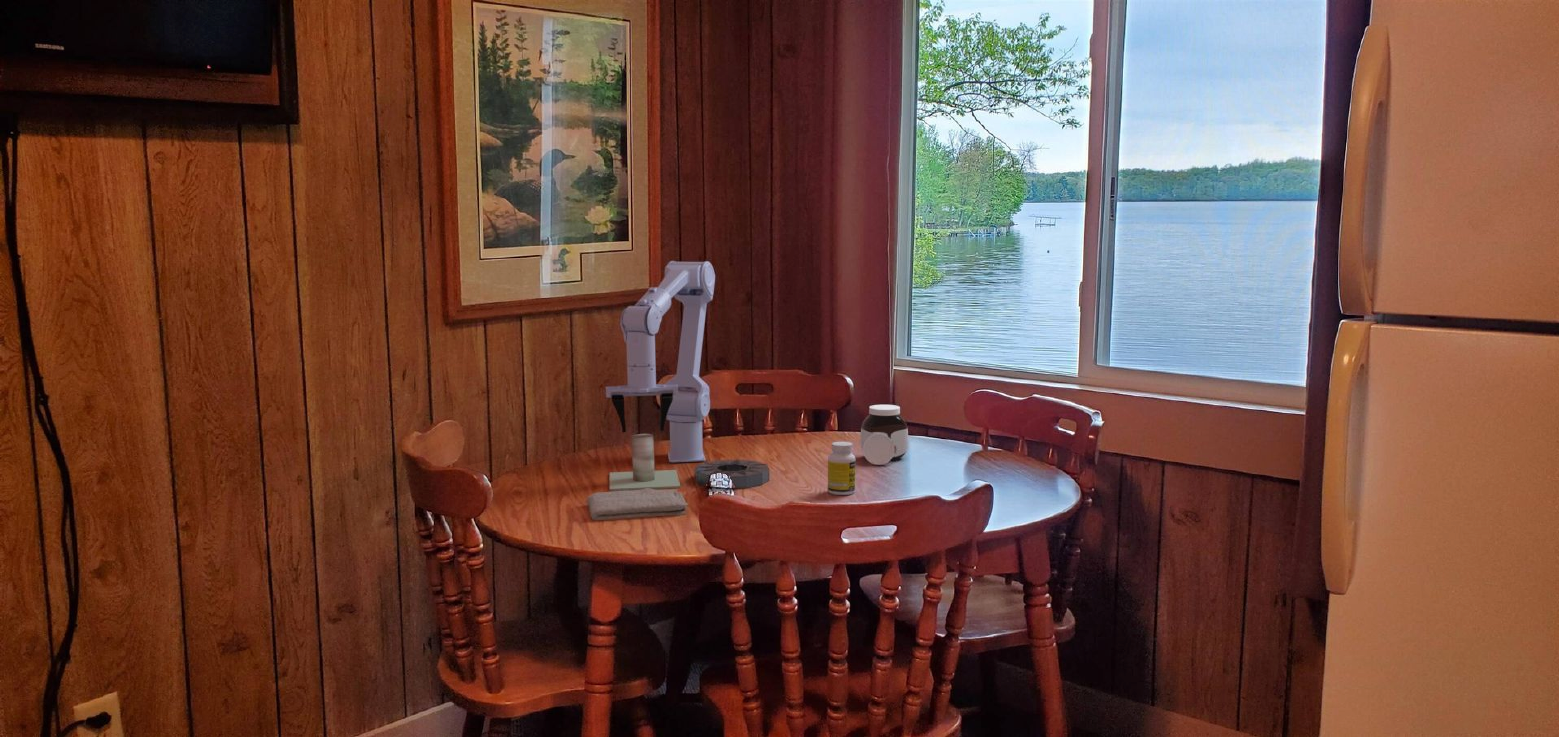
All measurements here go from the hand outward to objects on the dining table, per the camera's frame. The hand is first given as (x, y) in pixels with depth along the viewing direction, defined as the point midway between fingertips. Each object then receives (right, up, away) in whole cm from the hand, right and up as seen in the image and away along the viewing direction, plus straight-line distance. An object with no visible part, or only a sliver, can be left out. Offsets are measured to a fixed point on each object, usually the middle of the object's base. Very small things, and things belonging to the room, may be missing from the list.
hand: (643, 430), depth 223 cm
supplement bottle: (+40, -12, -10) cm, 43 cm away
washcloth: (+2, -14, -21) cm, 25 cm away
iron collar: (+18, -10, +1) cm, 21 cm away
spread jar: (+51, -8, +18) cm, 55 cm away
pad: (0, -10, 0) cm, 10 cm away
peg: (0, -10, 0) cm, 10 cm away
